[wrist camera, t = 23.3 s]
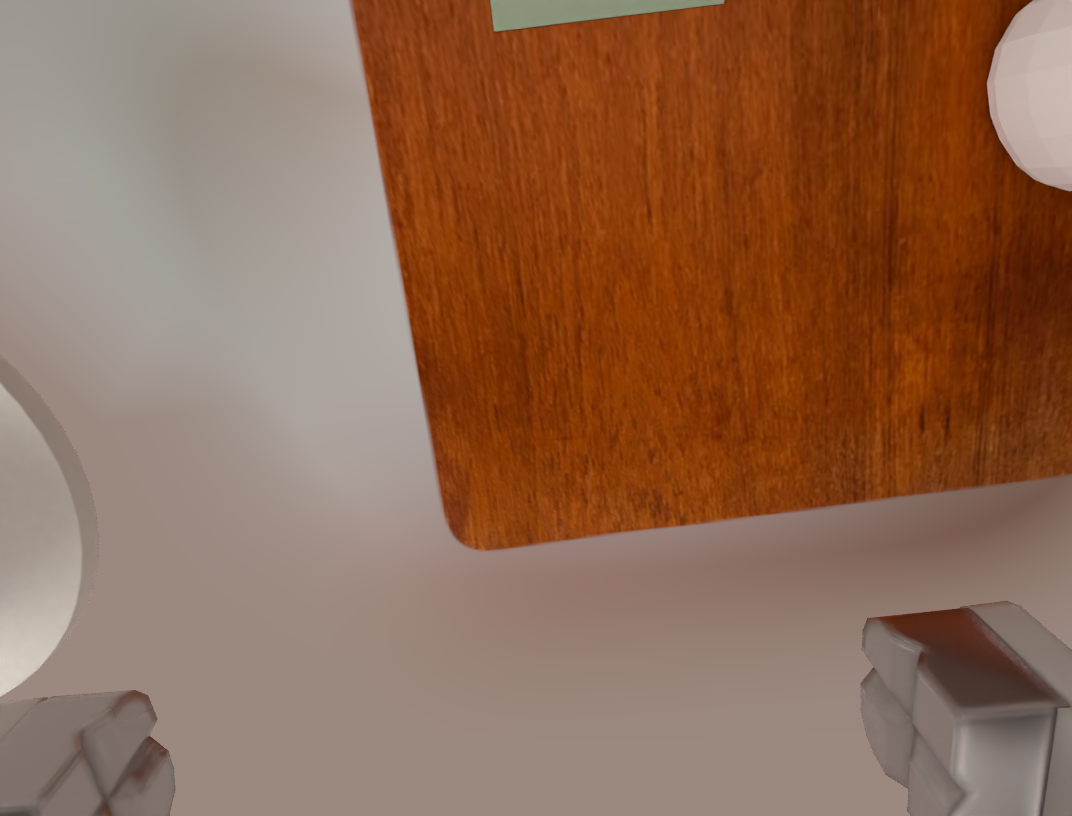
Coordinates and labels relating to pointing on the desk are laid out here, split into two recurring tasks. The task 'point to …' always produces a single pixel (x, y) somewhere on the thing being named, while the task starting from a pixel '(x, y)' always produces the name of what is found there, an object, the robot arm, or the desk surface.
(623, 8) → the mat
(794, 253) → the desk surface
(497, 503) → the desk surface
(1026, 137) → the cup
